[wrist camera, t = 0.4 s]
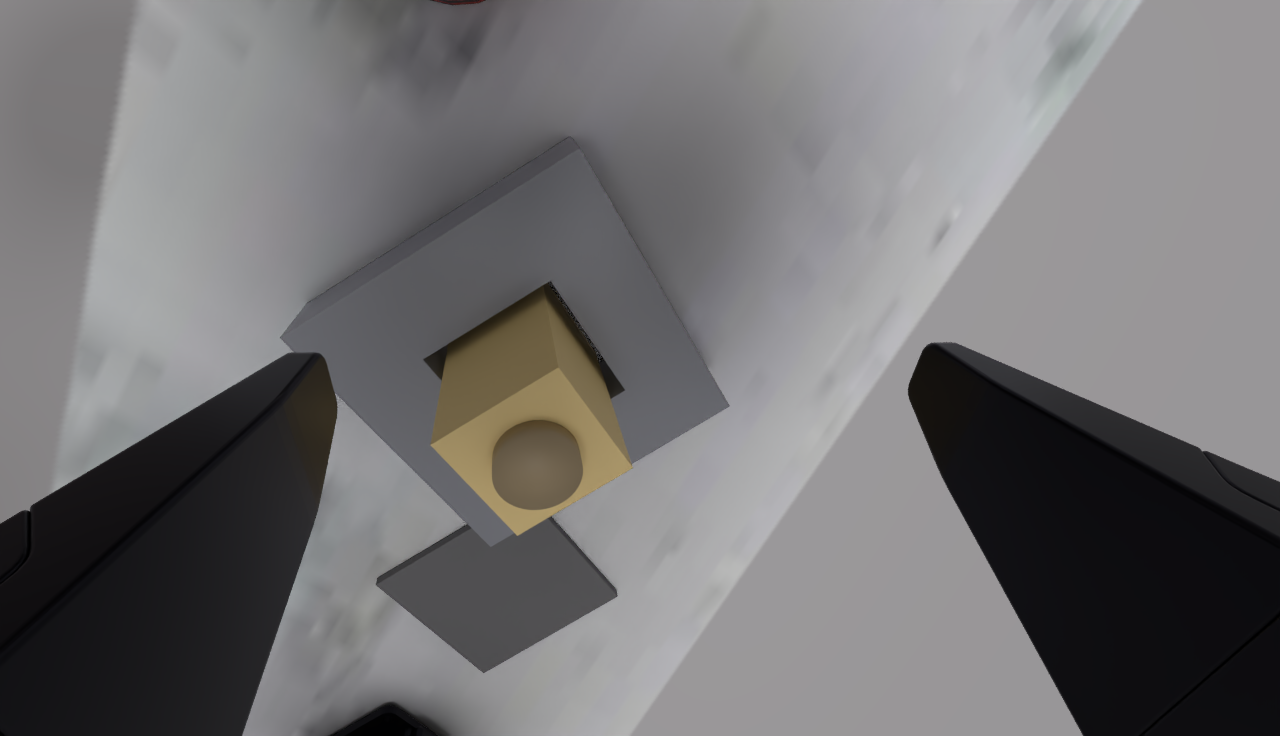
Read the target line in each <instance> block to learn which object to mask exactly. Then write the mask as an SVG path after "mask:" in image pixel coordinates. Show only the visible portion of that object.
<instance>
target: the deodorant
mask: <svg viewBox="0 0 1280 736" xmlns="http://www.w3.org/2000/svg"><path fill="white" fill-rule="evenodd" d="M432 1H437V2H441V3H446V4H450V5H460V4H474V3H480V2H482V1H485V0H432Z"/></svg>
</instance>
